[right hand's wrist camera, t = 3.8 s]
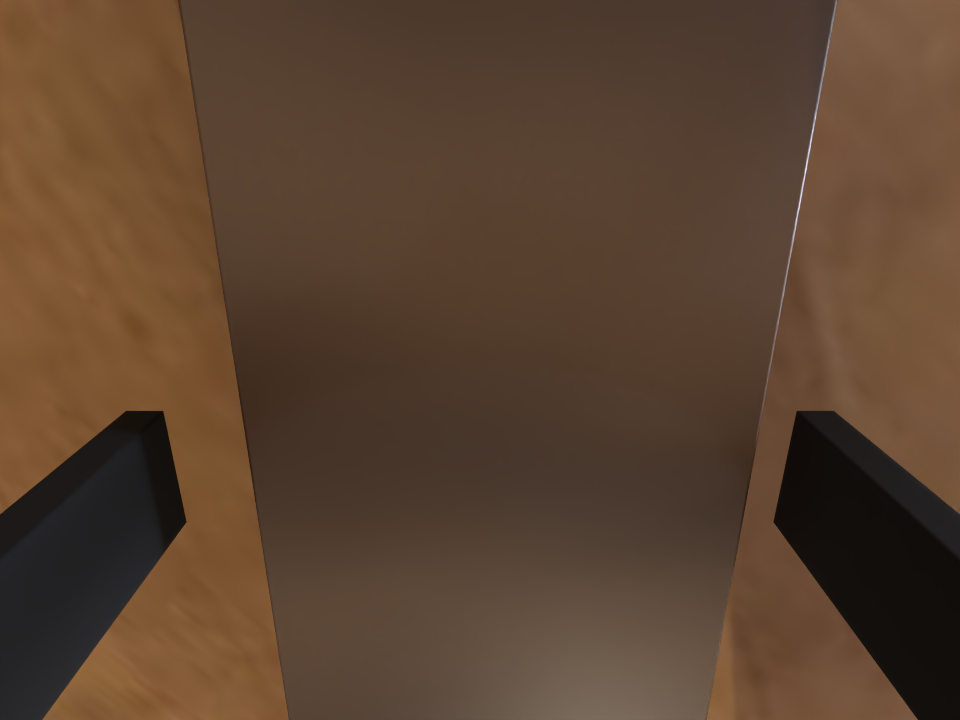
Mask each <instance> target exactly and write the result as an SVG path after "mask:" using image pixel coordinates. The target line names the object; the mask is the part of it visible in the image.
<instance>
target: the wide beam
mask: <svg viewBox="0 0 960 720" xmlns="http://www.w3.org/2000/svg"><path fill="white" fill-rule="evenodd" d="M836 6H837V0H179V7H180V13H181V20H182V26H183V33H184V39H185V46H186V52H187V59H188V65H189V72H190V78H191V85H192V91H193V98H194V104H195V111H196V117H197V124H198V130H199V137H200V143H201V150H202V156H203V163H204V169H205V176H206V182H207V189H208V195H209V202H210V208H211V215H212V221H213V228H214V234H215V241H216V247H217V254H218V260H219V267H220V273H221V280H222V286H223V293H224V299H225V306H226V312H227V319H228V326H229V332H230V339H231V345H232V352H233V358H234V365H235V371H236V378H237V384H238V391H239V397H240V404H241V410H242V417H243V423H244V430H245V436H246V443H247V449H248V456H249V462H250V469H251V475H252V482H253V488H254V495H255V501H256V508H257V514H258V521H259V527H260V534H261V540H262V547H263V553H264V560H265V566H266V573H267V579H268V586H269V592H270V599H271V605H272V612H273V618H274V625H275V631H276V638H277V645H278V651H279V658H280V664H281V671H282V677H283V684H284V690H285V697H286V703H287V710H288V716H289V720H706V719H707V713H708V708H709V703H710V697H711V692H712V686H713V681H714V675H715V670H716V664H717V659H718V653H719V648H720V642H721V637H722V631H723V626H724V620H725V615H726V609H727V604H728V598H729V593H730V587H731V582H732V576H733V571H734V565H735V560H736V554H737V549H738V543H739V538H740V532H741V527H742V521H743V516H744V510H745V505H746V499H747V494H748V489H749V483H750V478H751V472H752V467H753V461H754V456H755V450H756V445H757V439H758V434H759V428H760V423H761V417H762V412H763V406H764V401H765V395H766V390H767V384H768V379H769V373H770V368H771V362H772V357H773V351H774V346H775V340H776V335H777V329H778V324H779V318H780V313H781V307H782V302H783V296H784V291H785V285H786V280H787V275H788V269H789V264H790V258H791V253H792V247H793V242H794V236H795V231H796V225H797V220H798V214H799V209H800V203H801V198H802V192H803V187H804V181H805V176H806V170H807V165H808V159H809V154H810V148H811V143H812V137H813V132H814V126H815V121H816V115H817V110H818V104H819V99H820V93H821V88H822V82H823V77H824V71H825V66H826V61H827V55H828V50H829V44H830V39H831V33H832V28H833V22H834V17H835V11H836Z"/></svg>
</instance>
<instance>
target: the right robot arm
mask: <svg viewBox="0 0 960 720" xmlns="http://www.w3.org/2000/svg"><path fill="white" fill-rule="evenodd" d="M185 523H186V518H185V513H184V508H183V503H182V499H181V494H180V489H179V484H178V479H177V475H176V470H175V465H174V460H173V456H172V451H171V446H170V441H169V436H168V432H167V427H166V422H165V417H164V412H163V411H126V412H124V413H123V414H122V415H121V416H120V417H118V418H117V419H116V420H115V421H113V422H112V423H111V424H110V425H109V426H107V427H106V428H105V429H104V430H103V431H101V432H100V433H99V434H98V435H96V436H95V437H94V438H93V439H92V440H90V441H89V442H88V443H87V444H85V445H84V446H83V447H82V448H81V449H79V450H78V451H77V452H76V453H75V454H73V455H72V456H71V457H70V458H68V459H67V460H66V461H65V462H64V463H62V464H61V465H60V466H59V467H57V468H56V469H55V470H54V471H53V472H51V473H50V474H49V475H48V476H47V477H45V478H44V479H43V480H42V481H40V482H39V483H38V484H37V485H36V486H34V487H33V488H32V489H31V490H29V491H28V492H27V493H26V494H25V495H23V496H22V497H21V498H20V499H19V500H17V501H16V502H15V503H14V504H12V505H11V506H10V507H9V508H8V509H6V510H5V511H4V512H3V513H1V514H0V720H42V719H43V718H44V716H45V715H46V714H47V712H48V711H49V710H50V708H51V707H52V705H53V704H54V703H55V701H56V700H57V699H58V697H59V696H60V694H61V693H62V692H63V690H64V689H65V688H66V686H67V685H68V684H69V682H70V681H71V679H72V678H73V677H74V675H75V674H76V673H77V671H78V670H79V668H80V667H81V666H82V664H83V663H84V662H85V660H86V659H87V658H88V656H89V655H90V653H91V652H92V651H93V649H94V648H95V647H96V645H97V644H98V642H99V641H100V640H101V638H102V637H103V636H104V634H105V633H106V632H107V630H108V629H109V627H110V626H111V625H112V623H113V622H114V621H115V619H116V618H117V616H118V615H119V614H120V612H121V611H122V610H123V608H124V607H125V606H126V604H127V603H128V601H129V600H130V599H131V597H132V596H133V595H134V593H135V592H136V590H137V589H138V588H139V586H140V585H141V584H142V582H143V581H144V580H145V578H146V577H147V575H148V574H149V573H150V571H151V570H152V569H153V567H154V566H155V564H156V563H157V562H158V560H159V559H160V558H161V556H162V555H163V554H164V552H165V551H166V549H167V548H168V547H169V545H170V544H171V543H172V541H173V540H174V538H175V537H176V536H177V534H178V533H179V532H180V530H181V529H182V528H183V526H184V525H185ZM774 523H775V525H776V526H777V528H778V529H779V530H780V532H781V533H782V534H783V536H784V537H785V538H786V540H787V541H788V543H789V544H790V545H791V547H792V548H793V549H794V551H795V552H796V554H797V555H798V556H799V558H800V559H801V560H802V562H803V563H804V564H805V566H806V567H807V569H808V570H809V571H810V573H811V574H812V575H813V577H814V578H815V580H816V581H817V582H818V584H819V585H820V586H821V588H822V589H823V590H824V592H825V593H826V595H827V596H828V597H829V599H830V600H831V601H832V603H833V604H834V606H835V607H836V608H837V610H838V611H839V612H840V614H841V615H842V616H843V618H844V619H845V621H846V622H847V623H848V625H849V626H850V627H851V629H852V630H853V632H854V633H855V634H856V636H857V637H858V638H859V640H860V641H861V642H862V644H863V645H864V647H865V648H866V649H867V651H868V652H869V653H870V655H871V656H872V658H873V659H874V660H875V662H876V663H877V664H878V666H879V667H880V668H881V670H882V671H883V673H884V674H885V675H886V677H887V678H888V679H889V681H890V682H891V684H892V685H893V686H894V688H895V689H896V690H897V692H898V693H899V694H900V696H901V697H902V699H903V700H904V701H905V703H906V704H907V705H908V707H909V708H910V710H911V711H912V712H913V714H914V715H915V716H916V718H917V719H918V720H960V514H959V513H957V512H956V511H955V510H954V509H952V508H951V507H950V506H949V505H948V504H946V503H945V502H944V501H943V500H941V499H940V498H939V497H938V496H937V495H935V494H934V493H933V492H932V491H931V490H929V489H928V488H927V487H926V486H924V485H923V484H922V483H921V482H920V481H918V480H917V479H916V478H915V477H913V476H912V475H911V474H910V473H909V472H907V471H906V470H905V469H904V468H903V467H901V466H900V465H899V464H898V463H896V462H895V461H894V460H893V459H892V458H890V457H889V456H888V455H887V454H885V453H884V452H883V451H882V450H881V449H879V448H878V447H877V446H876V445H875V444H873V443H872V442H871V441H870V440H868V439H867V438H866V437H865V436H864V435H862V434H861V433H860V432H859V431H857V430H856V429H855V428H854V427H853V426H851V425H850V424H849V423H848V422H847V421H845V420H844V419H843V418H842V417H840V416H839V415H838V414H837V413H836V412H834V411H797V412H796V417H795V422H794V427H793V432H792V436H791V441H790V446H789V451H788V456H787V460H786V465H785V470H784V475H783V479H782V484H781V489H780V494H779V499H778V503H777V508H776V513H775V518H774Z"/></svg>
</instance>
